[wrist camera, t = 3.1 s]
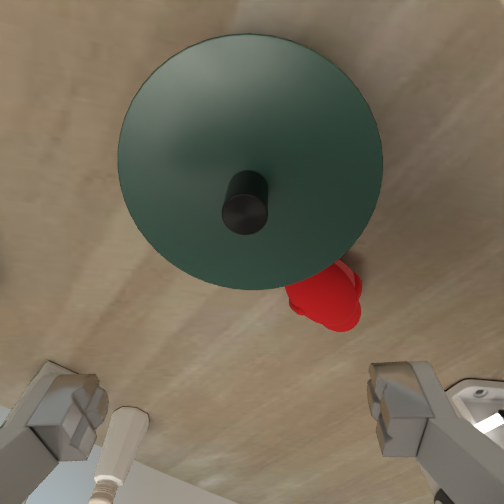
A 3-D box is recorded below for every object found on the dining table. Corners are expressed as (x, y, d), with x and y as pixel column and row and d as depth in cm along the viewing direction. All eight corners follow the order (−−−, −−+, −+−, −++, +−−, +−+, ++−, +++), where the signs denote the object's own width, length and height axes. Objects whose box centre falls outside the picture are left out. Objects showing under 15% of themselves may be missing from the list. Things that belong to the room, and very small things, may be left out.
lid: (391, 12, 16) (431, 4, 12) (367, 273, 24) (386, 319, 20) (84, 55, 17) (30, 60, 14) (161, 286, 26) (142, 331, 22)
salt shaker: (105, 409, 48) (66, 498, 38) (138, 403, 46) (106, 494, 37) (125, 429, 50) (93, 517, 41) (157, 424, 49) (131, 513, 40)
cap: (267, 273, 33) (267, 315, 28) (304, 229, 30) (311, 268, 25) (329, 307, 35) (339, 353, 30) (369, 270, 32) (388, 313, 27)
